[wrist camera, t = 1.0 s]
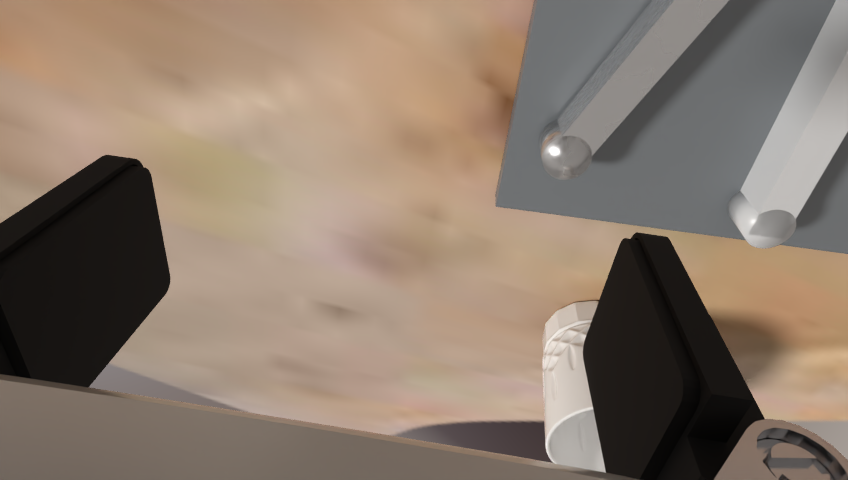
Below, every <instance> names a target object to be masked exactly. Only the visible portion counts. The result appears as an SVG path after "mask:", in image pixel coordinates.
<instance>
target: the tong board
mask: <svg viewBox="0 0 848 480" xmlns="http://www.w3.org/2000/svg"><path fill="white" fill-rule="evenodd" d="M651 1H652V0H534V4H533V9H532V14H531V19H530V24H529V29H528V34H527V39H526V44H525V49H524V54H523V59H522V64H521V69H520V74H519V79H518V84H517V89H516V94H515V99H514V104H513V109H512V114H511V120H510V125H509V130H508V135H507V140H506V145H505V150H504V155H503V160H502V165H501V170H500V175H499V180H498V185H497V190H496V207H503V208H511V209H518V210H526V211H533V212H540V213H548V214H555V215H563V216H570V217H577V218H585V219H592V220H600V221H607V222H615V223H622V224H629V225H637V226H644V227H652V228H659V229H667V230H674V231H681V232H689V233H696V234H704V235H711V236H719V237H726V238H733V239H741V240H746V241H747V242H748V243H749V244H750V245H751V246H754V247H756V248H771V247H775V246H778V245H785V246H793V247H800V248H808V249H815V250H822V251H830V252H837V253H845V254H848V0H729V1H728V2H727V3H726V4H725V6H724V7H723V8H722V9H721V10H720V11H719V12H718V14H717V15H716V16H715V17H714V18H713V19H712V20H711V22H710V23H709V24H708V25H707V26H706V27H705V28H704V29H703V31H702V32H701V33H700V34H699V35H698V36H697V37H696V39H695V40H694V41H693V42H692V43H691V44H690V45H689V46H688V48H687V49H686V50H685V51H684V52H683V53H682V54H681V56H680V57H679V58H678V59H677V60H676V61H675V62H674V63H673V65H672V66H671V67H670V68H669V69H668V70H667V71H666V73H665V74H664V75H663V76H662V77H661V78H660V79H659V80H658V82H657V83H656V84H655V85H654V86H653V87H652V88H651V90H650V91H649V92H648V93H647V94H646V95H645V96H644V98H643V99H642V100H641V101H640V102H639V103H638V104H637V105H636V107H635V108H634V109H633V110H632V111H631V112H630V113H629V115H628V116H627V117H626V118H625V119H624V120H623V121H622V122H621V124H620V125H619V126H618V127H617V128H616V129H615V130H614V132H613V133H612V134H611V135H610V136H609V137H608V138H607V139H606V141H605V142H604V143H603V144H602V145H601V146H600V147H599V149H598V150H597V151H596V152H595V153H594V154H593V155H592V160H591V163H590V165H589V167H588V169H587V170H586V171H585V172H584V173H583V174H581V175H580V176H578V177H576V178H573V179H568V180H562V179H557V178H554V177H552V176H551V175H549V174H548V173H547V172H546V170H545V169H544V166H543V163H542V157H541V151H540V145H539V138H540V134H541V132H542V130H543V129H544V127H545V126H546V125H547V124H549V123H550V122H552V121H554V120H556V119H558V118H559V117H560V115H561V114H562V113H563V112H564V110H565V109H566V108H567V107H568V105H569V104H570V103H571V102H572V100H573V99H574V98H575V97H576V95H577V94H578V93H579V92H580V90H581V89H582V88H583V86H584V85H585V84H586V83H587V81H588V80H589V79H590V78H591V76H592V75H593V74H594V73H595V71H596V70H597V69H598V68H599V66H600V65H601V64H602V63H603V61H604V60H605V59H606V58H607V56H608V55H609V54H610V53H611V51H612V50H613V49H614V48H615V46H616V45H617V44H618V43H619V41H620V40H621V39H622V38H623V36H624V35H625V34H626V33H627V31H628V30H629V29H630V28H631V26H632V25H633V24H634V23H635V21H636V20H637V19H638V18H639V16H640V15H641V14H642V13H643V11H644V10H645V9H646V8H647V6H648V5H649V4H650V3H651Z"/></svg>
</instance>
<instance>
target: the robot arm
mask: <svg viewBox="0 0 848 480" xmlns="http://www.w3.org/2000/svg"><path fill="white" fill-rule="evenodd" d="M169 285H170V273H169V268H168V262H167V257H166V252H165V246H164V241H163V236H162V231H161V225H160V220H159V215H158V209H157V204H156V199H155V193H154V188H153V183H152V177H151V174H150V172H149V170H148V169H147V168H144V167H143V165H142V164H141V162H140V161H139V160H137V159H132V158H125V157H118V156H111V155H105V156H102V157H101V158H99V159H98V160H96V161H95V162H93V163H91V164H90V165H88V166H87V167H85V168H84V169H82V170H81V171H79V172H78V173H76V174H75V175H73V176H72V177H70V178H69V179H67V180H66V181H64V182H63V183H61V184H60V185H58V186H57V187H55V188H53V189H52V190H50V191H49V192H47V193H46V194H44V195H43V196H41V197H40V198H38V199H37V200H35V201H34V202H32V203H31V204H29V205H28V206H26V207H25V208H23V209H22V210H20V211H19V212H17V213H15V214H14V215H12V216H11V217H9V218H8V219H6V220H5V221H3V222H2V223H0V480H848V460H847V459H846V458H845V457H844V456H843V455H842V454H841V453H840V452H839V451H838V450H837V449H836V448H834V447H833V446H832V445H831V444H829V443H828V442H826V441H825V440H824V439H822V438H821V437H819V436H818V435H817V434H815V433H812V432H811V431H809V430H807V429H804V428H802V427H801V426H799V425H796V424H792V423H789V422H786V421H783V420H774V419H764V417H763V415H762V413H761V411H760V409H759V407H758V405H757V403H756V401H755V400H754V398H753V396H752V394H751V392H750V390H749V388H748V386H747V384H746V382H745V381H744V379H743V377H742V375H741V373H740V371H739V369H738V367H737V365H736V364H735V362H734V360H733V358H732V356H731V354H730V352H729V350H728V348H727V346H726V345H725V343H724V341H723V339H722V337H721V335H720V333H719V331H718V329H717V327H716V326H715V324H714V322H713V320H712V318H711V317H710V315H709V314H708V312H707V310H706V308H705V306H704V304H703V302H702V300H701V299H700V297H699V295H698V293H697V291H696V289H695V287H694V285H693V283H692V281H691V279H690V278H689V276H688V274H687V272H686V270H685V268H684V266H683V264H682V262H681V260H680V259H679V257H678V255H677V253H676V251H675V249H674V247H673V245H672V243H671V241H670V240H669V238H668V237H664V236H657V235H651V234H644V233H635V234H634V235H633V236H632V238H631V239H627V238H624V239H623V240H622V241H621V243H620V245H619V248H618V251H617V254H616V256H615V259H614V262H613V264H612V267H611V270H610V273H609V275H608V278H607V281H606V283H605V286H604V289H603V292H602V294H601V297H600V300H599V303H598V305H597V308H596V311H595V313H594V316H593V319H592V322H591V324H590V327H589V330H588V332H587V335H586V338H585V341H584V345H583V360H584V365H585V370H586V375H587V380H588V385H589V390H590V395H591V400H592V405H593V410H594V415H595V420H596V425H597V430H598V435H599V440H600V445H601V450H602V455H603V460H604V465H605V470H606V473H605V472H600V471H595V470H589V469H583V468H578V467H572V466H566V465H560V464H555V463H549V462H543V461H538V460H532V459H527V458H521V457H515V456H510V455H503V454H498V453H492V452H486V451H480V450H473V449H468V448H462V447H455V446H449V445H443V444H437V443H431V442H425V441H419V440H413V439H407V438H401V437H395V436H389V435H383V434H377V433H371V432H365V431H359V430H353V429H347V428H341V427H334V426H328V425H322V424H316V423H310V422H303V421H297V420H291V419H285V418H279V417H272V416H266V415H260V414H254V413H247V412H241V411H235V410H228V409H222V408H216V407H209V406H203V405H197V404H191V403H184V402H178V401H172V400H165V399H159V398H153V397H145V396H140V395H133V394H127V393H120V392H114V391H107V390H101V389H95V388H88V387H89V386H90V385H91V383H92V382H93V381H94V380H95V379H96V377H97V376H98V375H99V374H100V373H101V372H102V370H103V369H104V368H105V367H106V365H107V364H108V363H109V362H110V361H111V359H112V358H113V357H114V356H115V355H116V353H117V352H118V351H119V350H120V349H121V347H122V346H123V345H124V344H125V343H126V341H127V340H128V339H129V338H130V336H131V335H132V334H133V333H134V332H135V330H136V329H137V328H138V327H139V326H140V324H141V323H142V322H143V321H144V320H145V318H146V317H147V316H148V315H149V314H150V312H151V311H152V310H153V309H154V308H155V306H156V305H157V304H158V303H159V301H160V300H161V299H162V298H163V297H164V295H165V294H166V293H167V291H168V288H169Z"/></svg>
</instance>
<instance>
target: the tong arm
mask: <svg viewBox="0 0 848 480" xmlns="http://www.w3.org/2000/svg"><path fill="white" fill-rule="evenodd" d="M728 1H729V0H652V1H651V3H650V4H649V5H648V6H647V8H646V9H645V10H644V11H643V13H642V14H641V15H640V16H639V18H638V19H637V20H636V21H635V23H634V24H633V25H632V26H631V28H630V29H629V30H628V31H627V33H626V34H625V35H624V36H623V38H622V39H621V40H620V41H619V43H618V44H617V45H616V46H615V48H614V49H613V50H612V51H611V53H610V54H609V55H608V56H607V58H606V59H605V60H604V61H603V63H602V64H601V65H600V66H599V68H598V69H597V70H596V71H595V73H594V74H593V75H592V76H591V78H590V79H589V80H588V81H587V83H586V84H585V85H584V86H583V88H582V89H581V90H580V92H579V93H578V94H577V95H576V97H575V98H574V99H573V100H572V102H571V103H570V104H569V105H568V107H567V108H566V109H565V110H564V112H563V113H562V114H561V115H560V117H559V118H558V119H556V120H554V121H552V122H550V123H549V124H547V125H546V126H545V127H544V129H543V130H542V132H541V134H540V138H539V145H540V151H541V157H542V163H543V166H544V169H545V170H546V172H547V173H548V174H549V175H551V176H552V177H554V178H557V179H562V180H568V179H573V178H576V177H578V176H580V175H581V174H583V173H584V172H585V171H586V170H587V169H588V167H589V165H590V163H591V160H592V155H593V154H594V153H595V152H596V151H597V150H598V149H599V147H600V146H601V145H602V144H603V143H604V142H605V141H606V139H607V138H608V137H609V136H610V135H611V134H612V133H613V132H614V130H615V129H616V128H617V127H618V126H619V125H620V124H621V122H622V121H623V120H624V119H625V118H626V117H627V116H628V115H629V113H630V112H631V111H632V110H633V109H634V108H635V107H636V105H637V104H638V103H639V102H640V101H641V100H642V99H643V98H644V96H645V95H646V94H647V93H648V92H649V91H650V90H651V88H652V87H653V86H654V85H655V84H656V83H657V82H658V80H659V79H660V78H661V77H662V76H663V75H664V74H665V73H666V71H667V70H668V69H669V68H670V67H671V66H672V65H673V63H674V62H675V61H676V60H677V59H678V58H679V57H680V56H681V54H682V53H683V52H684V51H685V50H686V49H687V48H688V46H689V45H690V44H691V43H692V42H693V41H694V40H695V39H696V37H697V36H698V35H699V34H700V33H701V32H702V31H703V29H704V28H705V27H706V26H707V25H708V24H709V23H710V22H711V20H712V19H713V18H714V17H715V16H716V15H717V14H718V12H719V11H720V10H721V9H722V8H723V7H724V6H725V4H726V3H727V2H728Z"/></svg>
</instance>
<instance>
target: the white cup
mask: <svg viewBox="0 0 848 480" xmlns="http://www.w3.org/2000/svg"><path fill="white" fill-rule="evenodd" d="M598 303H599V301H585V302H575V303H572V304H570V305H568V306H566V307H564V308H561V309H559V310H557V311H556V312H555V313H554V314H553V315H552V317H551V318H550V319H549V320H548V321H547V322H546V323H545V328H544V333H543V399H544V420H545V444H546V451H547V453H548V456H549V458H550V459H551V461H552V462H553V463H555V464H560V465H566V466H572V467H578V468H583V469H589V470H595V471H600V472H605V473H606V470H605V465H604V460H603V455H602V450H601V445H600V440H599V435H598V430H597V425H596V420H595V415H594V410H593V405H592V400H591V395H590V390H589V385H588V380H587V375H586V370H585V365H584V360H583V345H584V341H585V338H586V335H587V332H588V330H589V327H590V324H591V322H592V319H593V316H594V313H595V311H596V308H597V305H598Z"/></svg>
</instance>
